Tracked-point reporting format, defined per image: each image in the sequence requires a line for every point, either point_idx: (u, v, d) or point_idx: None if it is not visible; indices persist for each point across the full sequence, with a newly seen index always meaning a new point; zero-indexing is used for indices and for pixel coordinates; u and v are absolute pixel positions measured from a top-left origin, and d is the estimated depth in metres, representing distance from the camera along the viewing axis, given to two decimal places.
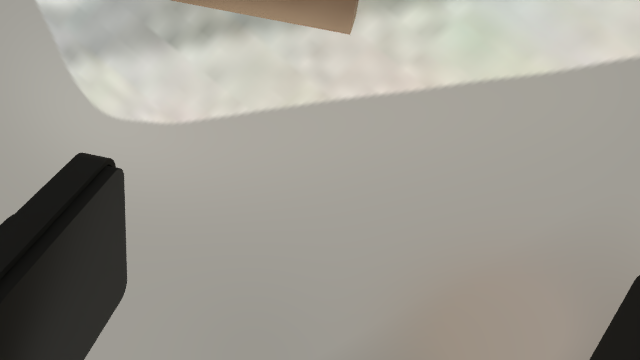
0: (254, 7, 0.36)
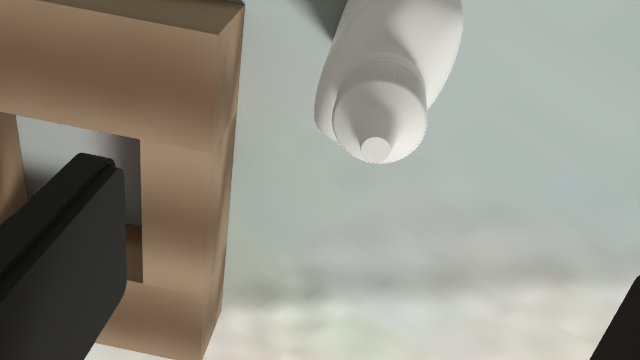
0: None
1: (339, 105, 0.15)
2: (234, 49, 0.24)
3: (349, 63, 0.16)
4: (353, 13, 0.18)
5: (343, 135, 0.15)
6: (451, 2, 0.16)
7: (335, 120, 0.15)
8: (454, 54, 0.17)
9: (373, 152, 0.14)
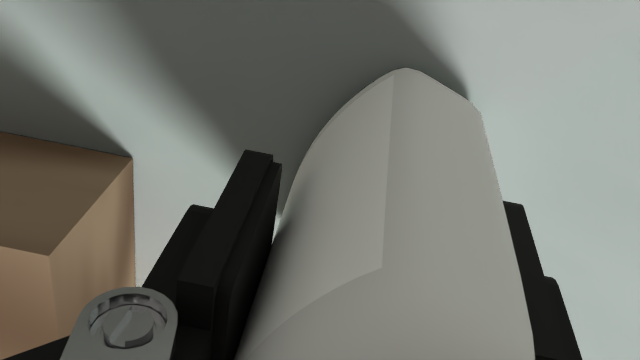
0: None
1: None
2: (112, 235, 0.14)
3: None
4: (281, 297, 0.08)
5: None
6: (508, 328, 0.07)
7: None
8: None
9: None
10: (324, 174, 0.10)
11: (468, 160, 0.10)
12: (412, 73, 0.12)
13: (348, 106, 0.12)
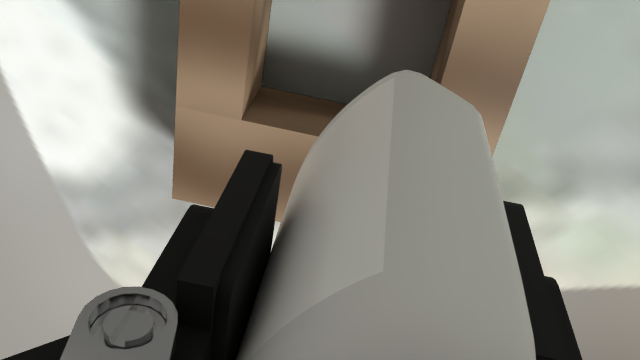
0: None
1: None
2: None
3: None
4: (282, 300, 0.08)
5: None
6: (509, 332, 0.07)
7: None
8: None
9: None
10: (325, 176, 0.10)
11: (469, 163, 0.10)
12: (413, 75, 0.12)
13: (349, 108, 0.12)
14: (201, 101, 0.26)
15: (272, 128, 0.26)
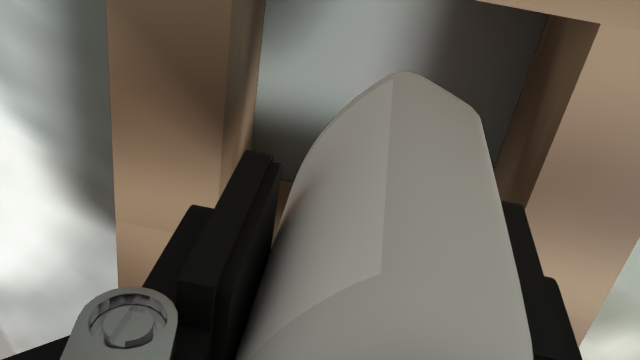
0: None
1: None
2: None
3: None
4: (280, 302, 0.08)
5: None
6: (506, 334, 0.07)
7: None
8: None
9: None
10: (323, 178, 0.10)
11: (467, 164, 0.10)
12: (411, 77, 0.12)
13: (348, 109, 0.12)
14: (153, 215, 0.17)
15: None
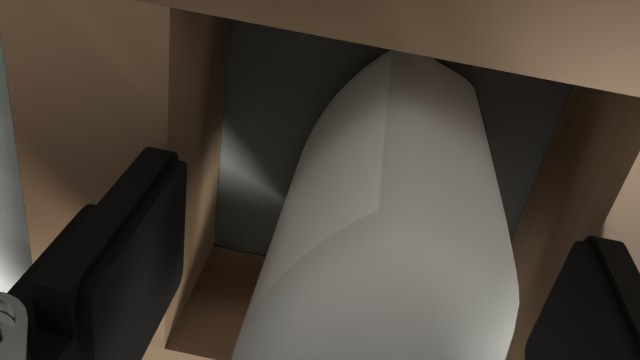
0: None
1: None
2: None
3: None
4: (289, 247, 0.09)
5: None
6: (492, 261, 0.07)
7: None
8: None
9: None
10: (327, 144, 0.11)
11: (460, 126, 0.10)
12: None
13: (349, 84, 0.13)
14: None
15: None
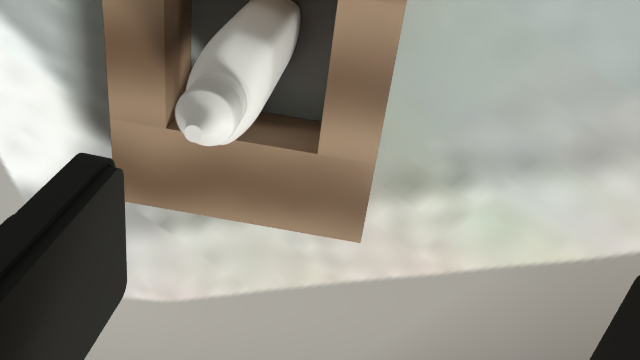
0: (252, 216, 0.32)
1: (177, 108, 0.22)
2: None
3: None
4: None
5: (183, 128, 0.23)
6: (262, 36, 0.24)
7: (177, 118, 0.23)
8: (268, 71, 0.24)
9: (192, 135, 0.21)
10: None
11: (276, 12, 0.27)
12: None
13: None
14: (130, 114, 0.30)
15: None
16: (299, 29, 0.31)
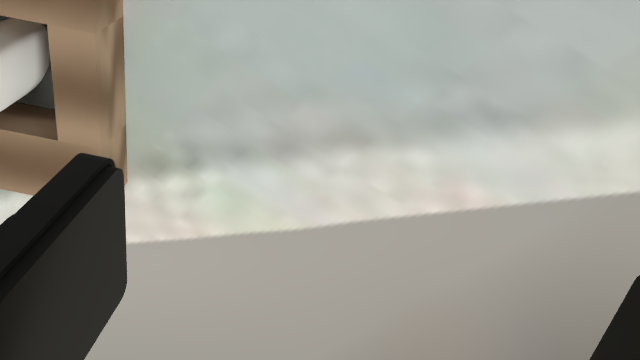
0: (21, 186, 0.42)
1: None
2: None
3: None
4: None
5: None
6: None
7: None
8: None
9: None
10: None
11: (10, 34, 0.37)
12: None
13: None
14: None
15: None
16: None
